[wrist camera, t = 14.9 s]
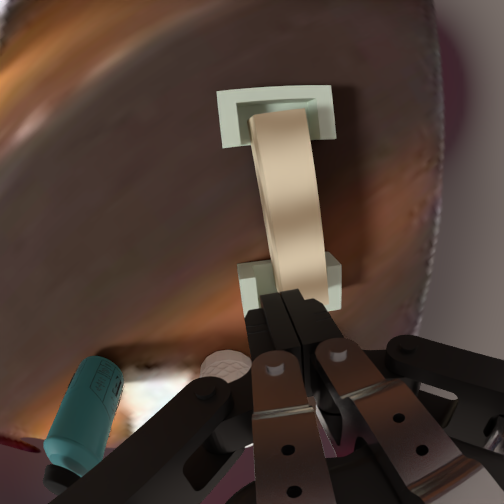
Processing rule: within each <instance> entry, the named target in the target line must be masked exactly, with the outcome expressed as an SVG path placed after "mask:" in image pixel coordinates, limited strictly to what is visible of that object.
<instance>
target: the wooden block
mask: <svg viewBox="0 0 504 504" xmlns="http://www.w3.org/2000/svg"><path fill="white" fill-rule="evenodd" d="M247 125H248V131H249V136H250V141H251V147H252V153H253V158H254V164H255V169H256V175H257V181H258V186H259V192H260V198H261V203H262V209H263V215H264V221H265V227H266V233H267V239H268V245H269V251H270V257H271V263H272V269H273V275H274V281H275V286H276V289H277V291H278V292H281V291H287V290H292V289H297V288H298V289H299V291H300V292H301V294H302V296H303V298H304V300H306V299H311V298H314V299H316V300H318V301H319V302H321V303H323V305H328V304H329V295H328V282H327V271H326V260H325V250H324V240H323V231H322V222H321V213H320V205H319V197H318V190H317V182H316V175H315V168H314V161H313V155H312V148H311V142H310V136H309V130H308V124H307V118H306V112H305V108H302V109H293V110H285V111H277V112H270V113H263V114H256V115H253V116H252V117H251V118H250V119H249V120H248V121H247Z"/></svg>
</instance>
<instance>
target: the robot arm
mask: <svg viewBox="0 0 504 504" xmlns="http://www.w3.org/2000/svg"><path fill="white" fill-rule="evenodd" d="M260 303H261V308H258V309H252V310H248V312H247V314H246V316H245V318H244V319H245V324H246V330H247V336H248V342H249V347H250V353H251V358H252V365H251V368H250V369H249V371H248V372H247V373H246V374H245V375H244V376H242V377H241V378H239V379H237V380H234V381H232V382H229V383H227V382H226V381H225V380H224V379H222V378H219V377H214V376H207V377H201V378H198V379H195V380H193V381H192V382H190V383H189V384H188V385H186V386H185V387H184V388H183V389H182V390H181V391H180V392H179V393H178V394H177V395H176V396H175V397H174V398H172V399H171V400H170V401H169V402H168V403H167V404H166V405H165V406H164V407H163V408H161V409H160V410H159V411H158V412H157V413H156V414H155V415H154V416H153V417H151V418H150V419H149V420H148V421H147V422H146V423H145V424H144V425H142V426H141V427H140V428H139V429H138V430H137V431H136V432H134V433H133V434H132V435H131V436H130V437H129V438H128V439H126V440H125V441H124V442H123V443H122V444H121V445H119V446H118V447H117V448H116V449H115V450H114V451H113V452H111V453H110V454H109V455H108V456H107V457H105V458H104V459H103V460H102V461H101V462H99V463H98V464H97V465H96V466H95V467H93V468H92V469H91V470H90V471H89V472H87V473H86V474H85V475H84V476H82V477H81V478H80V479H79V480H77V481H76V482H75V483H74V484H72V485H71V486H70V487H69V488H67V489H66V490H65V491H64V492H62V493H61V494H60V495H59V496H57V497H56V498H55V499H53V500H52V501H51V502H50V503H48V504H200V503H201V502H202V501H203V500H204V499H205V497H206V496H207V495H208V494H209V493H210V492H211V491H212V490H213V488H214V487H215V486H216V485H217V484H218V483H219V481H220V480H221V479H222V478H223V477H224V476H225V474H226V473H227V472H228V471H229V469H230V468H231V467H232V466H233V464H234V463H235V462H236V460H238V458H239V457H240V456H241V455H242V453H243V451H244V450H245V446H248V445H250V444H252V443H253V450H254V468H255V481H253V482H251V483H249V484H248V485H246V486H244V487H243V488H241V489H240V490H239V491H238V492H236V493H235V494H234V495H233V496H232V497H231V498H230V499H229V500H228V501H227V502H226V503H225V504H504V360H501V359H497V358H493V357H489V356H485V355H482V354H478V353H474V352H471V351H467V350H463V349H459V348H456V347H453V346H449V345H445V344H442V343H438V342H435V341H431V340H428V339H424V338H421V337H417V336H414V335H400V336H397V337H394V338H393V339H391V340H390V341H389V342H388V344H387V348H386V350H362V349H361V348H360V346H359V345H358V344H357V343H356V342H354V341H352V340H350V339H347V338H344V337H343V335H342V333H341V332H340V330H339V329H338V327H337V325H336V324H335V322H334V321H333V319H332V318H331V316H330V314H329V313H328V312H327V309H326V308H325V306H324V305H323V303H321V302H319V301H318V300H316V299H314V298H311V299H306V300H304V298H303V296H302V294H301V292H300V291H299V289H298V288H297V289H292V290H287V291H281V292H276V293H270V294H264V295H260ZM421 383H424V384H427V385H431V386H434V387H437V388H440V389H443V390H446V391H449V392H452V393H454V394H455V395H456V396H457V397H458V399H456V400H449V399H446V398H443V397H440V396H437V395H433V394H430V393H427V392H424V391H421V390H419V389H420V385H421ZM311 396H314V398H315V401H316V413H317V416H318V418H319V420H320V422H321V424H322V426H323V428H324V430H325V432H326V434H327V436H328V438H329V441H330V442H331V445H332V447H333V448H334V451H335V453H336V456H337V457H336V458H325V454H324V450H323V446H322V442H321V438H320V434H319V430H318V426H317V422H316V418H315V414H314V410H313V407H312V406H309V403H308V399H307V397H311Z"/></svg>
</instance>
